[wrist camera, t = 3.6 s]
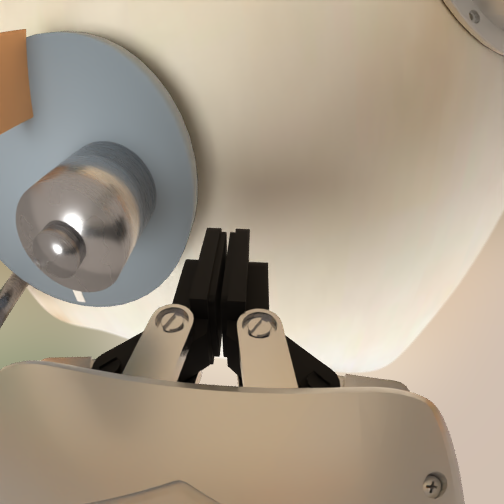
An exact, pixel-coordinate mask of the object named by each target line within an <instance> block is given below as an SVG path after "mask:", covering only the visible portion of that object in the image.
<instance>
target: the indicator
mask: <svg viewBox="0 0 504 504" xmlns="http://www.w3.org/2000/svg"><path fill="white" fill-rule="evenodd" d="M27 286H28V283H27V282H25V281H24V280H22V279H21V278H20V277H19V276H17V275H16V274H15V273H14V272H13V274H12V275H11V276H10V278H9V279H8V280H7V282H6V283H5V284H4V286H3V287H2V289H1V290H0V328H1V326H2V325H3V323H4V321H5V320H6V318H7V316H8V315H9V313H10V312H11V310H12V308H13V307H14V305H15V304H16V302H17V301H18V299H19V298H20V296H21V294H22V293H23V292H24V290H25V289H26V287H27Z"/></svg>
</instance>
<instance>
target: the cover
mask: <svg viewBox="0 0 504 504" xmlns="http://www.w3.org/2000/svg"><path fill="white" fill-rule="evenodd" d="M156 198H157V197H156V188H155V183H154V180H153V177H152V175H151V173H150V171H149V169H148V168H147V166H146V165H145V163H144V162H143V161H142V160H141V159H140V158H139V157H138V156H137V155H136V154H135V153H134V152H132V151H131V150H130V149H128V148H126V147H125V146H122V145H120V144H117V143H114V142H108V141H97V142H92V143H89V144H87V145H85V146H83V147H81V148H80V149H79V150H77V151H76V152H74V153H73V154H72V155H70V156H69V157H68V158H66V159H65V160H64V161H62V162H61V163H60V164H58V165H57V166H56V167H54V168H53V169H52V170H51V171H49V172H48V173H47V174H46V175H44V176H43V177H42V178H41V179H39V180H38V181H37V182H36V183H35V184H33V185H32V186H31V187H30V188H29V189H28V190H27V191H25V192H24V194H23V195H22V196H21V198H20V200H19V202H18V205H17V209H16V228H17V232H18V236H19V239H20V241H21V244H22V246H23V248H24V250H25V251H26V253H27V255H28V256H29V258H30V259H31V260H32V262H33V263H34V264H35V265H36V266H37V267H38V268H39V269H40V270H41V271H42V272H43V273H44V274H45V275H46V276H48V277H49V278H50V279H52V280H53V281H55V282H57V283H58V284H60V285H62V286H64V287H67V288H69V289H72V290H75V291H80V292H98V291H102V290H104V289H107V288H108V287H110V286H111V285H112V284H114V283H115V281H116V280H117V279H118V277H119V275H120V273H121V271H122V269H123V267H124V265H125V264H126V262H127V260H128V258H129V256H130V254H131V252H132V251H133V249H134V247H135V245H136V243H137V241H138V240H139V238H140V236H141V234H142V233H143V231H144V229H145V227H146V226H147V224H148V222H149V220H150V219H151V217H152V215H153V213H154V210H155V206H156Z"/></svg>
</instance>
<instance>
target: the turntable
mask: <svg viewBox="0 0 504 504" xmlns="http://www.w3.org/2000/svg"><path fill="white" fill-rule="evenodd" d="M97 141H108V142H114V143H117V144H120V145H122V146H125V147H126V148H128V149H130V150H131V151H132V152H134V153H135V154H136V155H137V156H138V157H139V158H140V159H141V160H142V161H143V162H144V163H145V165H146V166H147V168H148V169H149V171H150V173H151V175H152V177H153V180H154V183H155V188H156V197H157V198H156V206H155V210H154V213H153V215H152V217H151V219H150V220H149V222H148V224H147V226H146V227H145V229H144V231H143V233H142V234H141V236H140V238H139V240H138V241H137V243H136V245H135V247H134V249H133V251H132V252H131V254H130V256H129V258H128V260H127V262H126V264H125V265H124V267H123V269H122V271H121V273H120V275H119V277H118V279H117V280H116V281H115V283H114V284H112V285H111V286H110V287H108V288H107V289H104V290H102V291H98V292H80V291H75V290H72V289H69V288H67V287H64V286H62V285H60V284H58V283H57V282H55V281H53V280H52V279H50V278H49V277H48V276H46V275H45V274H44V273H43V272H42V271H41V270H40V269H39V268H38V267H37V266H36V265H35V264H34V263H33V262H32V260H31V259H30V258H29V256H28V255H27V253H26V251H25V250H24V248H23V246H22V244H21V241H20V239H19V236H18V232H17V228H16V209H17V205H18V202H19V200H20V198H21V196H22V195H23V194H24V192H25V191H27V190H28V189H29V188H30V187H31V186H32V185H33V184H35V183H36V182H37V181H38V180H39V179H41V178H42V177H43V176H44V175H46V174H47V173H48V172H49V171H51V170H52V169H53V168H54V167H56V166H57V165H58V164H60V163H61V162H62V161H64V160H65V159H66V158H68V157H69V156H70V155H72V154H73V153H74V152H76V151H77V150H79V149H80V148H81V147H83V146H85V145H87V144H89V143H92V142H97ZM197 199H198V177H197V169H196V160H195V155H194V151H193V147H192V143H191V139H190V136H189V133H188V131H187V128H186V126H185V123H184V121H183V118H182V115H181V113H180V112H179V110H178V108H177V106H176V104H175V103H174V101H173V99H172V97H171V95H170V94H169V92H168V91H167V90H166V88H165V87H164V86H163V84H162V83H161V82H160V80H159V79H158V78H157V76H156V75H155V74H154V73H153V72H152V71H151V70H150V69H149V68H148V67H147V66H146V65H145V64H144V63H143V62H142V61H141V60H140V59H139V58H137V57H136V56H134V55H133V54H132V53H130V52H129V51H127V50H126V49H125V48H123V47H122V46H120V45H118V44H116V43H113V42H111V41H109V40H107V39H105V38H103V37H99V36H96V35H92V34H88V33H83V32H72V31H63V32H51V33H43V34H36V35H32V36H29V37H26V29H22V30H14V31H8V32H1V33H0V260H1V261H2V262H3V263H4V264H5V265H6V266H7V267H8V268H9V269H10V270H11V271H13V272H14V273H15V274H16V275H17V276H19V277H20V278H21V279H22V280H24V281H25V282H27V283H28V284H30V285H31V286H33V287H35V288H36V289H38V290H40V291H42V292H44V293H46V294H48V295H50V296H52V297H55V298H57V299H60V300H63V301H66V302H69V303H74V304H78V305H83V306H93V307H108V306H116V305H122V304H126V303H129V302H132V301H135V300H137V299H139V298H141V297H143V296H145V295H147V294H149V293H150V292H152V291H153V290H154V289H156V288H157V287H159V286H160V285H161V284H162V283H163V282H164V281H165V280H166V279H167V278H168V277H169V275H170V274H171V272H172V271H173V269H174V268H175V267H176V265H177V264H178V262H179V259H180V257H181V255H182V253H183V251H184V249H185V246H186V243H187V241H188V238H189V235H190V232H191V229H192V225H193V222H194V219H195V213H196V206H197Z"/></svg>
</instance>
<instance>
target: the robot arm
mask: <svg viewBox="0 0 504 504" xmlns="http://www.w3.org/2000/svg"><path fill="white" fill-rule="evenodd" d="M443 1H444V3H445V4H446V6H447V7H448V8H449V9H450V11H451V12H452V13H453V15H454V16H455V17H456V18H457V20H458V21H459V22H460V23H461V24H462V25H463V26H464V27H465V28H466V29H467V30H468V31H469V32H470V34H472V35H473V36H474V37H475V38H476V39H478V40H479V41H480V42H481V43H482V44H484V45H485V46H487V47H488V48H490V49H492V50H493V51H495V52H496V53H499V54H501V55H504V0H443ZM249 237H250V229H236V233H235V232H230V238H229V245H228V252H227V234H226V232H222V231H221V228H207V230H206V234H205V238H204V241H203V245H202V249H201V253H200V257H199V260H190V259H187V260H186V261H185V263H184V267H183V270H182V273H181V276H180V280H179V283H178V286H177V290H176V293H175V297H174V300H173V303H172V304H169V305H165V306H163V307H160V308H159V309H157V310H156V311H155V312H154V314H153V315H152V316H151V318H150V320H149V322H148V324H147V326H146V328H145V330H144V331H143V332H142V333H140V334H138V335H136V336H134V337H133V338H131V339H129V340H127V341H125V342H124V343H122V344H120V345H118V346H116V347H114V348H113V349H111V350H109V351H107V352H105V353H104V354H102V355H101V356H99V357H98V358H97V359H92V357H65V358H63V357H62V358H45V359H43V360H41V361H23V362H17V363H13V364H10V365H7V366H5V367H4V368H2V369H1V370H0V504H465V503H464V496H463V490H462V484H461V478H460V472H459V467H458V462H457V458H456V454H455V450H454V447H453V443H452V440H451V437H450V434H449V431H448V428H447V426H446V423H445V421H444V418H443V416H442V415H441V413H440V411H439V410H438V408H437V407H436V406H435V405H434V404H433V403H432V402H431V401H430V400H428V399H427V398H424V397H423V396H420V395H418V394H415V393H412V392H410V391H409V390H408V388H407V387H406V386H405V385H404V384H402V383H401V382H397V381H393V380H385V379H377V378H370V377H363V376H356V375H350V374H346V375H345V377H344V376H338V375H337V374H336V373H335V372H334V371H333V370H332V369H330V368H329V367H327V366H326V365H325V364H323V363H322V362H320V361H319V360H318V359H316V358H315V357H314V356H312V355H311V354H310V353H308V352H307V351H305V350H304V349H303V348H301V347H300V346H299V345H297V344H296V343H295V342H293V341H292V340H291V339H289V338H288V337H287V336H285V333H284V329H283V325H282V322H281V320H280V318H279V317H278V316H277V315H276V314H275V313H273V312H271V311H269V289H268V263H260V262H249ZM222 338H223V355H224V357H227V362H228V367H230V368H231V369H232V370H233V371H234V372H235V373H236V374H237V380H238V387H236V386H234V387H233V386H219V385H206V384H199V382H200V379H201V376H202V370H203V369H204V368H206V367H207V366H209V365H210V364H213V362H214V356H217V357H219V356H220V348H221V339H222Z"/></svg>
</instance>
